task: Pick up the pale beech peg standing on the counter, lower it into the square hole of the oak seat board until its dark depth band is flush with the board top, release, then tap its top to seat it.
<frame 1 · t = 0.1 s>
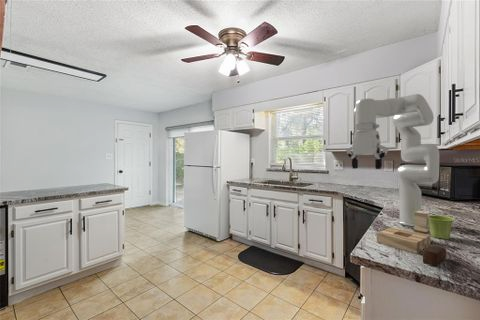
hand: (366, 168, 97), 31 cm above the countertop, tool pointing down, fingers open, 9 cm apart
brick: (434, 261, 78), on the countertop
seat board: (403, 243, 93), on the countertop
plant pot: (440, 237, 101), on the countertop
peg: (422, 240, 97), on the countertop
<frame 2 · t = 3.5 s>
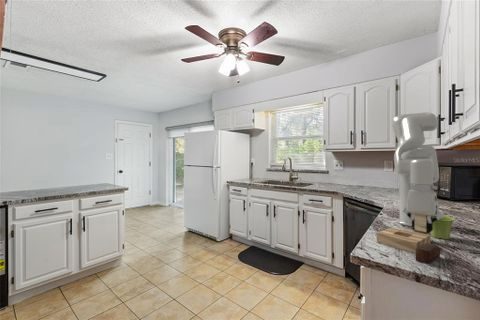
hand: (422, 230, 97), 4 cm above the countertop, tool pointing down, fingers closed on peg, 4 cm apart
brick: (428, 260, 79), on the countertop
peg: (422, 240, 97), on the countertop, touching gripper
everything else where it was.
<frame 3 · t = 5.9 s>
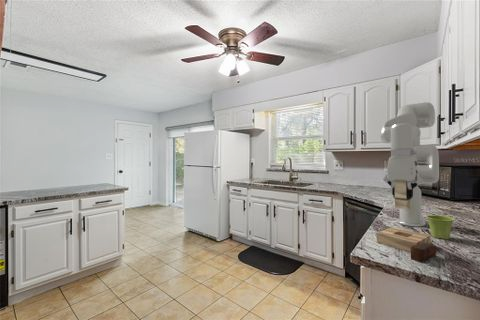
hand: (402, 197, 93), 19 cm above the countertop, tool pointing down, fingers closed on peg, 4 cm apart
brick: (423, 258, 80), on the countertop
peg: (402, 208, 93), point 15 cm above the countertop, touching gripper
everything else where it was.
when the fingers open (5 cm above the countertop, at t = 8.4 s): peg stays where it is, resting in seat board.
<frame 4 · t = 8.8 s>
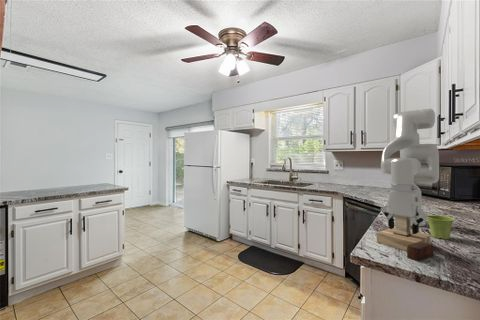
hand: (402, 230, 93), 5 cm above the countertop, tool pointing down, fingers open, 7 cm apart
peg: (403, 243, 93), resting in seat board
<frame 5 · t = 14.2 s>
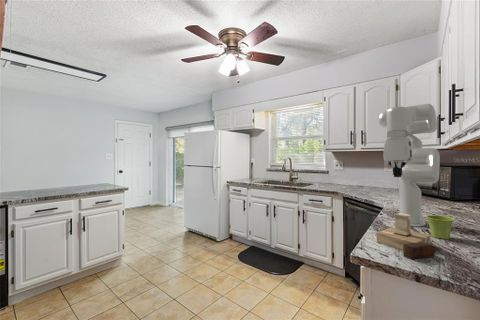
hand: (397, 176, 100), 27 cm above the countertop, tool pointing down, fingers closed
at the end: peg 0.1 cm off-centre on the seat board, point 0.0 cm above the seat board's base; peg tilted 0°; the gripper is holding nothing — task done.
